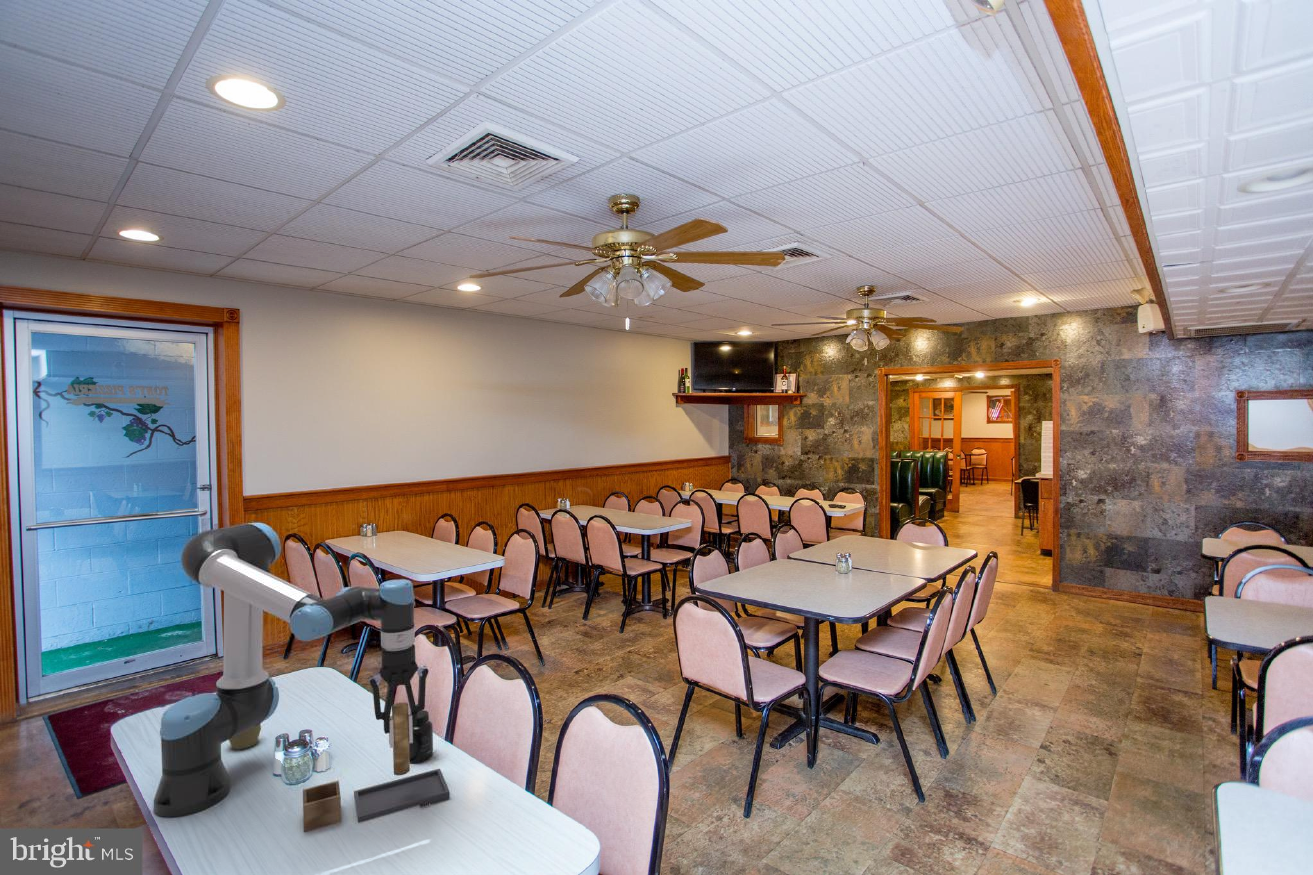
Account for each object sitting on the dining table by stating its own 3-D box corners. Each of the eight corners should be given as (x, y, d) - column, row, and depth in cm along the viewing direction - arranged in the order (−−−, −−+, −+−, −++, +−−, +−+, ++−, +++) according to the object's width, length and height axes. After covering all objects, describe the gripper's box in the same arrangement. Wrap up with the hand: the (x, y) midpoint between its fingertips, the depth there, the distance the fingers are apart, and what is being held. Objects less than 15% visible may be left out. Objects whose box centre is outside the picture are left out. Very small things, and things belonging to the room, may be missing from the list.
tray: (358, 825, 144) (357, 817, 144) (354, 798, 155) (353, 791, 155) (449, 798, 154) (449, 791, 154) (440, 775, 165) (439, 768, 164)
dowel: (394, 776, 152) (392, 709, 151) (392, 769, 155) (391, 704, 155) (410, 772, 153) (409, 706, 153) (408, 765, 157) (406, 700, 156)
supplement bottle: (400, 760, 172) (399, 716, 172) (420, 749, 178) (419, 706, 178) (419, 766, 169) (418, 721, 169) (438, 754, 175) (437, 711, 175)
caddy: (303, 835, 141) (303, 805, 141) (303, 817, 148) (302, 789, 147) (341, 824, 145) (340, 795, 145) (339, 807, 151) (338, 780, 151)
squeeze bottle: (268, 738, 186) (266, 676, 185) (247, 752, 177) (245, 688, 177) (242, 737, 186) (240, 675, 186) (220, 751, 178) (218, 687, 178)
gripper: (361, 657, 146) (364, 759, 147) (437, 644, 154) (439, 740, 155) (358, 647, 153) (361, 745, 153) (431, 635, 161) (434, 727, 161)
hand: (400, 742), depth 154 cm, fingers closed on dowel, 3 cm apart
